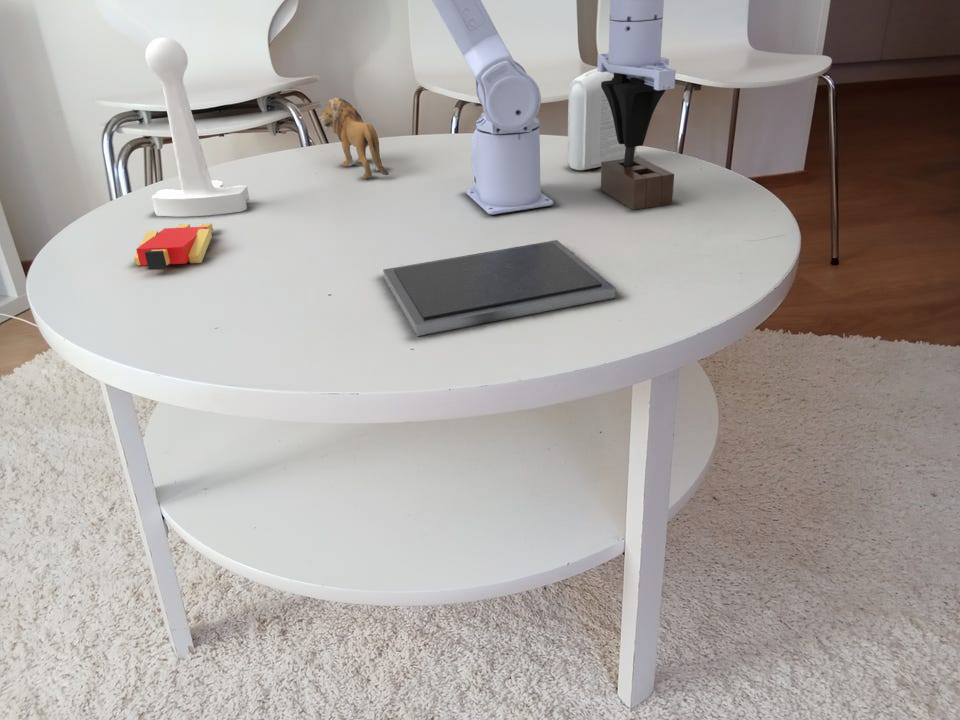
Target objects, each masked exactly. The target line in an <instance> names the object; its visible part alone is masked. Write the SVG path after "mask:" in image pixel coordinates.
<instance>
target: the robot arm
mask: <svg viewBox="0 0 960 720" xmlns="http://www.w3.org/2000/svg"><path fill="white" fill-rule="evenodd" d="M431 1H432V3H433V5H434V7H435V8H436V10H437V12H438V14H439V16H440V17H441V19H442V21H443V23H444V24H445V26H446V28H447V30H448V32H449V34H451V37H452V39H453V41H454V42H455V44H456V46H457V48H458V50H459V52H460V53H461V55H462V56H463V58H464V60H465V62H466V64H467V66H468V67H469V69H470V71H471V73H472V75H473V77H474V80H475V94H476V97H477V99H478V101H479V103H480V105H481V106H482V109H483V112H482V113H481V115H480V117H479V119H477V120H476V125H475V126H476V129H474V132H473V133H472V137H471V141H470V153H471V154H470V155H471V171H472V172H471V173H472V186H473V187H472V188H467V189H466V190H465V193H466V195H467V196H468V197H469V198H471V199H472V200H473V201H474V202H475V203H476V204H477V205H478V206H479V207H480V208H482V210H484V211H485V212H486V213H487V214H488V215H492V216H493V215H498V214H506V213H511V212H517V211H525V210H530V209H531V210H532V209H537V208H544V207H551V206H552V205H554V201H553V199H551V198H550V197H548V196H547V195H546V194H544V193H542V192H541V140H540V139H541V132H540V131H541V130H540V129H541V128H540V124H541V122H540V119H539V118H538V117H537V116H538V114H539V111H540V108H541V104H542V95H541V91H540V88H539V86H538V83H537V82H536V81H535V80H534V78H533V77H532V76H530V75H529V74H528V73H527V71H526V69H525V68H524V67H523V66H522V65H521V64H520V63H519V62H517V61H516V60H514V57H513V56H512V54H511V53H510V51H509V49H508V48H507V46H506V44H505V42H504V41H503V39H502V37H501V35H500V33H499V32H498V29H497V28H496V25H495V24H494V23H493V19H491V16H490V15H489V12H488V10H487V9H486V8H485V5H484V3H483V1H482V0H431ZM664 5H665V0H609V25H608V53H599V54H597V67H596V69H597V71H598V72H609V73H612V74H614V78H612V80H610V81H603V82H601V88H602V90H603V91H604V93H605V95H606V97H607V100H608V102H609V105H610V108H611V112H612V116H613V120H614V125H615V130H616V135H617V140H618V143H619V144H624V145H625V147H628V148H629V147H636V146H637V147H642V146H644V143H645V139H646V136H647V133H648V130H649V127H650V123H651V120H652V118H653V114H654V112H655V110H656V108H657V105H658V103H659V102H660V100H661V99H662V97H663V95H664V94H665V93H666V91H667V90H674V89H675V87H676V86H675V85H676V84H675V83H676V73H677V70H676V69H675V68H672V67H670V66H669V65H670V59H669V58H667V57H663V56H662V41H663V40H662V39H663V22H664V21H663V20H664Z"/></svg>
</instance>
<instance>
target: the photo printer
mask: <svg viewBox="0 0 960 720" xmlns="http://www.w3.org/2000/svg"><path fill="white" fill-rule="evenodd" d="M612 78H614V74H612V73H609V72H598V71H597V68H594V69H590V70H588V71H586V72H584V73H582V74H580V75H578V76H576V78H575V79H573V80H572V81H571V83H570V85H569V88H568V100H567V101H568V103H567V104H568V106H567V109H568V110H567V111H568V112H567V114H568V115H567V164H568V165H569V167H570V168H571V169H572V170H575V171H586V170H591V169H596V168H601V162H605V161H613V160H619V159H624V157H625V148H626V147H625V145H624V144H619V143H618V140H617V135H616V130H615V125H614V120H613V116H612V112H611V108H610V105H609V102H608V100H607V97H606V95H605V93H604V91H603V90H602V88H601V82H603V81H610V80H612ZM637 147H638V146H636V147H635V153H634V157H637V149H638V148H637Z"/></svg>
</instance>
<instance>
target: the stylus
mask: <svg viewBox="0 0 960 720" xmlns="http://www.w3.org/2000/svg"><path fill="white" fill-rule="evenodd" d="M634 153H635V147H629V148H628V147H626V148H625V157H624V165H623V166H624V167H632V166H633V160H634Z"/></svg>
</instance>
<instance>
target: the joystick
mask: <svg viewBox="0 0 960 720" xmlns="http://www.w3.org/2000/svg"><path fill="white" fill-rule="evenodd" d="M144 56H145V62H146V65H147V67H148V68H149V71H151V72H152V73H153V74H154V75H155V76H156V77H157V78H158V80H159V82H160V83H161V84H160V85H161V87H162V92H163V98H164V102H165V108H166V113H167V118H168V124H169V129H170V135H171V140H172V145H173V146H172V147H173V151H174V156H175V157H174V158H175V162H176V168H177V173H178V178H179V183H180V189H171V188H162V189H159V190H158V191H156V193H154V194H153V195H152V196H151V197H150V198H151V202H152V205H153V210H154V212H155V215H156V216H158V217H184V218H185V217H204V216H205V217H207V216H217V215H226V214H232V213H240V212H244V211H246V210H247V209H248V207H247V206H248V205H247V202H250V200H251V198H250V195H249V190H248V185H247V184H240V185H239V184H238V185H233V186H227V187H225V186H224V182H223V181H222V180H217V179H211V176H210V175H211V174H210V171H209V168H208V165H207V161H206V157H205V154H204V150H203V147H202V144H201V140H200V136H199V133H198V130H197V126H196V122H195V119H194V116H193V112H192V109H191V105H190V101H189V98H188V96H187V95H188V94H187V90H186V87H185V84H184V75H185V72H186V70H187V68H188V63H189V59H188V54H187V52H186V50H185V48H184V47H183V46H182V44H181V43H180V42H179V41H177V40H176V39H173V38H172V37H171V38H170V37H167V36H163V37H162V36H161V37H157V38H155V39H153V40H151V41H150V42H149V44H148V45H147V47H146V50H145V54H144Z"/></svg>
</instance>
